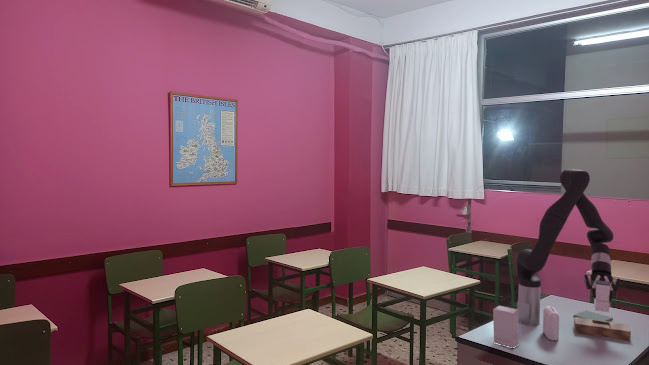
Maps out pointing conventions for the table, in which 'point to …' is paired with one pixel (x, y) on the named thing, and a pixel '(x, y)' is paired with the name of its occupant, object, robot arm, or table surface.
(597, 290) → the lever cap
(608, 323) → the body
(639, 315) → the table surface
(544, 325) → the photo printer
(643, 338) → the table surface
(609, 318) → the rubber mat
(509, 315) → the skincare box
